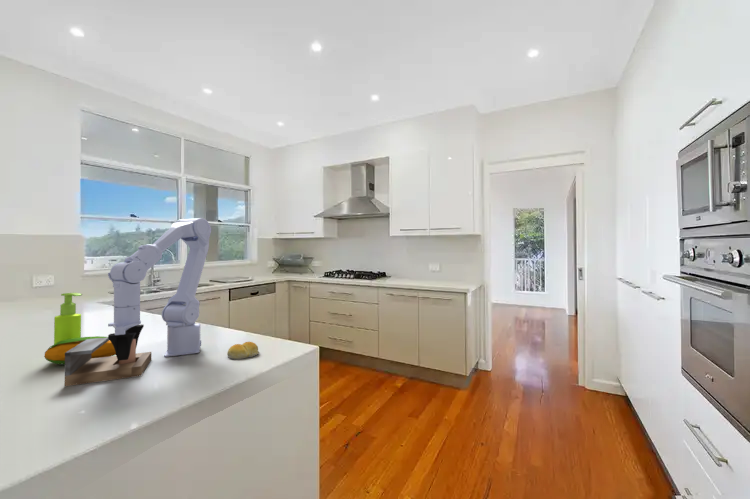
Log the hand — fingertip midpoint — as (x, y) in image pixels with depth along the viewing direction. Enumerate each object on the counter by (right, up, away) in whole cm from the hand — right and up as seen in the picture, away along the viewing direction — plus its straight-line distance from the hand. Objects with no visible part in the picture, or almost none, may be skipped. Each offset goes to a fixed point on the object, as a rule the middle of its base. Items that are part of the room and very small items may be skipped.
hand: (127, 355), depth 87 cm
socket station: (-2, -4, -1) cm, 5 cm away
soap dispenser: (-26, -4, +10) cm, 28 cm away
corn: (-17, -5, +8) cm, 19 cm away
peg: (0, -4, 0) cm, 4 cm away
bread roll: (+27, -5, +13) cm, 30 cm away
